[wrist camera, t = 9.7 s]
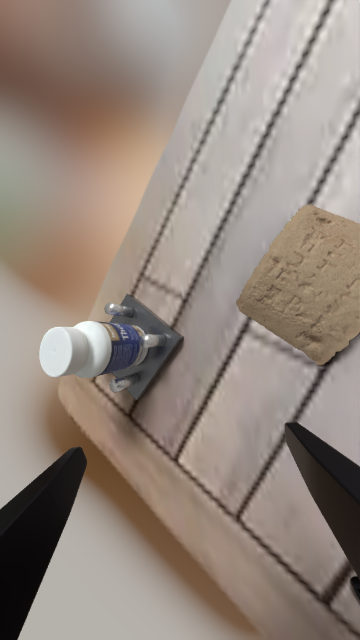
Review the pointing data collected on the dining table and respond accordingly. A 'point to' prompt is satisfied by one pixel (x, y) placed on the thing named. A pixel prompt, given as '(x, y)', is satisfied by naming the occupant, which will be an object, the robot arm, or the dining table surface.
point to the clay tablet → (309, 284)
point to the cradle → (143, 345)
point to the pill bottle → (91, 349)
